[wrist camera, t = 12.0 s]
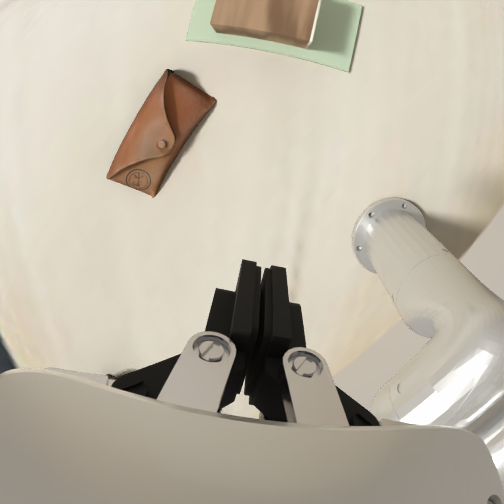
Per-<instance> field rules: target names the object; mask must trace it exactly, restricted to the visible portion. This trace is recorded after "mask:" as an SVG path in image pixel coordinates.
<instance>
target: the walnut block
mask: <svg viewBox="0 0 504 504" xmlns="http://www.w3.org/2000/svg"><path fill="white" fill-rule="evenodd" d="M320 5H321V0H216V2H215V6H214V10H213V13H212V17H211V21H210V25H211V26H212V27H213V29H214V30H215V32H216V33H222V34H230V35H237V36H244V37H250V38H256V39H262V40H267V41H272V42H277V43H282V44H286V45H291V46H295V47H299V48H303V49H307V48H308V47H309V45H310V44H311V43H312V40H313V35H314V31H315V27H316V22H317V18H318V13H319V9H320Z"/></svg>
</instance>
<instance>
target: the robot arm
mask: <svg viewBox="0 0 504 504" xmlns="http://www.w3.org/2000/svg"><path fill="white" fill-rule="evenodd" d="M402 204H403V205H402ZM370 212H371V214H369V213H370ZM352 246H353V250H354V253H355V255H356V257H357V259H358V261H359V262H360V264H361V265H362V266H363V267H364V268H366V269H367V270H369V271H371V272H373V273H376V274H378V276H379V278H380V279H381V281H382V283H383V285H384V286H385V288H386V290H387V292H388V294H389V296H390V297H391V299H392V301H393V303H394V305H395V307H396V309H397V310H398V312H399V314H400V316H401V318H402V320H403V321H404V323H405V324H406V325H407V326H408V327H409V328H410V329H411V330H412V331H414V332H415V333H417V334H419V335H421V336H424V337H428V338H431V339H430V340H429V341H428V342H427V344H426V345H425V346H424V347H423V348H422V349H421V351H420V352H419V353H418V354H417V355H416V356H415V357H414V358H413V359H411V360H410V361H409V362H408V363H407V364H406V365H405V366H404V367H403V368H402V369H401V370H400V371H399V372H398V373H396V374H395V375H394V376H393V377H392V378H391V379H390V380H389V381H388V382H387V383H386V384H385V385H384V386H383V387H382V388H381V389H380V390H379V391H378V392H377V394H376V396H375V397H374V399H373V401H372V404H371V410H370V411H371V412H369V411H368V410H367V409H365V408H364V407H363V406H361V405H360V404H359V403H357V402H356V401H355V400H354V399H352V398H351V397H350V396H348V395H347V394H346V393H344V392H343V391H342V390H340V389H339V388H338V387H337V386H335V384H334V381H333V379H332V376H331V373H330V370H329V367H328V365H327V363H326V361H325V359H324V358H323V357H322V356H321V355H320V354H319V353H317V352H315V351H314V350H311V349H308V348H306V342H305V334H304V326H303V319H302V312H301V306H300V304H296V303H290V302H289V297H288V286H287V275H286V268H283V267H278V266H273V265H271V267H270V269H269V268H265V270H264V274H263V278H262V281H261V267H259V266H256V262H253V261H248V260H243V259H242V264H241V268H240V273H239V277H238V282H237V287H236V291H235V292H233V291H228V290H223V289H218V288H216V290H215V294H214V298H213V302H212V306H211V310H210V313H209V317H208V321H207V325H206V329H205V331H204V332H200V333H197V334H195V335H193V336H192V337H191V338H190V339H189V341H188V343H187V344H186V346H185V348H184V350H183V352H182V353H181V354H179V355H176V356H174V357H171V358H169V359H166V360H164V361H161V362H158V363H156V364H153V365H150V366H148V367H145V368H142V369H139V370H137V371H134V372H131V373H128V374H125V375H123V376H121V377H119V378H117V379H116V380H111V379H108V376H105V375H97V374H90V373H83V372H77V371H70V370H64V369H59V368H45V369H32V368H20V369H12V370H9V371H6V372H4V373H2V374H0V504H504V488H503V487H504V300H502V299H501V298H500V297H498V296H497V295H496V294H494V293H493V292H492V291H490V290H489V289H488V288H487V287H486V286H485V285H483V284H482V283H481V282H480V281H479V280H478V279H477V278H476V277H475V276H474V275H473V274H472V273H471V272H470V271H469V270H468V269H467V268H466V267H465V266H464V265H463V264H462V263H461V262H460V261H459V260H458V259H457V258H456V257H455V256H454V255H453V254H452V253H451V252H450V251H449V250H448V249H447V248H446V247H445V246H444V245H443V244H441V243H440V242H439V241H438V240H437V239H436V238H435V237H434V236H433V235H432V234H431V233H430V232H429V231H428V230H427V229H426V222H425V219H424V217H423V215H422V213H421V212H420V210H419V209H418V208H417V207H416V206H415V205H413V204H412V203H410V202H409V201H407V200H404V199H400V198H387V199H383V200H380V201H377V202H376V203H374V204H372V205H371V206H370V207H368V208H367V209H366V210H365V211H364V212H363V213H362V215H361V216H360V217H359V219H358V221H357V223H356V225H355V228H354V231H353V237H352ZM358 246H359V247H358ZM244 379H245V388H244V395H248V396H249V404H250V405H254V406H255V407H256V408H257V409H258V410H259V411H260V414H259V419H253V418H246V417H240V416H233V415H227V414H222V413H221V410H222V408H223V407H225V406H227V405H229V404H230V403H232V402H234V400H235V397H236V394H240V392H241V389H242V385H243V382H244Z"/></svg>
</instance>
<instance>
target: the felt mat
mask: <svg viewBox="0 0 504 504" xmlns="http://www.w3.org/2000/svg"><path fill="white" fill-rule="evenodd" d="M215 2H216V0H196V1H195V5H194V8H193V12H192V16H191V20H190V24H189V28H188V32H187V36H186V41H198V42H208V43H217V44H225V45H232V46H239V47H245V48H251V49H257V50H263V51H268V52H273V53H278V54H282V55H287V56H291V57H295V58H299V59H303V60H307V61H311V62H315V63H319V64H322V65H326V66H329V67H333V68H336V69H339V70H342V71H345V72H348V71H349V67H350V63H351V58H352V53H353V49H354V44H355V39H356V35H357V30H358V25H359V20H360V15H361V10H362V5H359V4H356V3H353V2H350V1H347V0H321V5H320V9H319V13H318V18H317V22H316V27H315V31H314V35H313V40H312V43H311V44H310V45H309V47H308V48H307V49H303V48H299V47H295V46H291V45H286V44H282V43H277V42H272V41H267V40H262V39H256V38H250V37H244V36H237V35H230V34H222V33H216V32H215V30H214V29H213V27H212V26H211V25H210V21H211V17H212V13H213V10H214V6H215Z"/></svg>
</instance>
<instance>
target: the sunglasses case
mask: <svg viewBox="0 0 504 504" xmlns="http://www.w3.org/2000/svg"><path fill="white" fill-rule="evenodd" d="M173 73H174V71H172V70H169V69H166V71H165V72H164V74H163V75H162V77H161V78H160V79H159V81H158V82H157V84H156V85H155V87H154V88H153V90H152V91H151V93H150V94H149V96H148V97H147V99H146V101H145V102H144V104H143V106H142V107H141V109H140V111H139V112H138V114H137V116H136V118H135V119H134V121H133V123H132V125H131V126H130V128H129V130H128V132H127V134H126V136H125V138H124V139H123V141H122V143H121V145H120V147H119V149H118V151H117V153H116V155H115V158H114V160H113V162H112V165H111V167H110V170H109V172H108V174H107V179H110V180H113V181H115V182H118V183H121V184H123V185H126V186H129V187H131V188H134V189H136V190H139V191H142V192H144V193H146V194H148V195H151V196H152V198H154V197H155V196H156V194H157V192H158V189H159V187H160V185H161V183H162V180H163V178H164V176H165V174H166V173H167V171H168V169H169V167H170V165H171V164H172V162H173V161H174V159H175V157H176V156H177V154H178V152H179V151H180V149H181V148H182V147H183V145H184V143H185V141H186V140H187V139H188V137H189V136H190V134H191V133H192V131H193V130H194V128H195V127H196V126H197V124H198V123H199V122H200V121H201V119H202V118H203V117H204V116H205V114H206V113H207V112H208V111H209V110H210V109H211V108H212V107H213V106H214V104H215V103H216V100H215V98H214V97H211V96H209V95H207V94H206V93H204V92H203V91H201V90H200V89H198V88H197V87H195V86H194V85H192V84H190V83H189V82H188V81H186V80H184V79H183V78H181V77H180V76H178V75H176V74H173Z"/></svg>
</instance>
